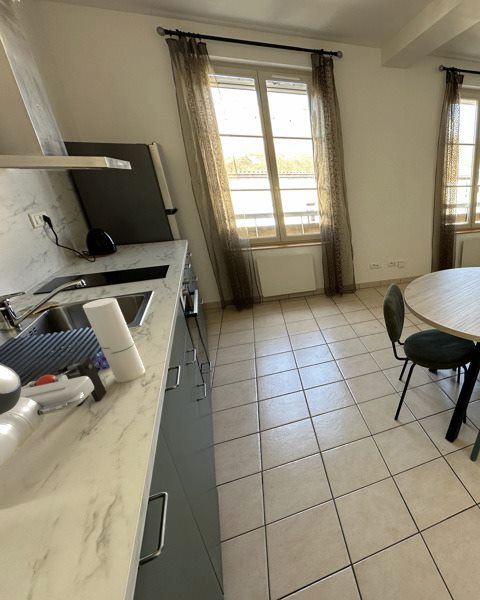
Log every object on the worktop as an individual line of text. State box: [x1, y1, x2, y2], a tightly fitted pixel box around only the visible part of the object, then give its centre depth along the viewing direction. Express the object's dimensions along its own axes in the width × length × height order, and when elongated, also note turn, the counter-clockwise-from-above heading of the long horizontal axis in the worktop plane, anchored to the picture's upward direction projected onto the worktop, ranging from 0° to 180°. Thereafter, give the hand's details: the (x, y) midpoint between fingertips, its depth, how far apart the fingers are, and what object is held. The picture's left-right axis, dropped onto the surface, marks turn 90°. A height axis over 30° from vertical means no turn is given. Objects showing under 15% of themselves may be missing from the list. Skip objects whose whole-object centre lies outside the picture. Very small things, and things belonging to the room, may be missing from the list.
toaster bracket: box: [56, 356, 107, 408], centre depth 87 cm, size 12×9×13 cm
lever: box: [36, 362, 81, 386], centre depth 80 cm, size 14×4×4 cm, turn 20°
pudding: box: [94, 350, 110, 370], centre depth 106 cm, size 12×12×5 cm
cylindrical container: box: [82, 297, 146, 383], centre depth 95 cm, size 7×7×25 cm
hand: (49, 380), depth 76 cm, fingers closed on lever, 3 cm apart
